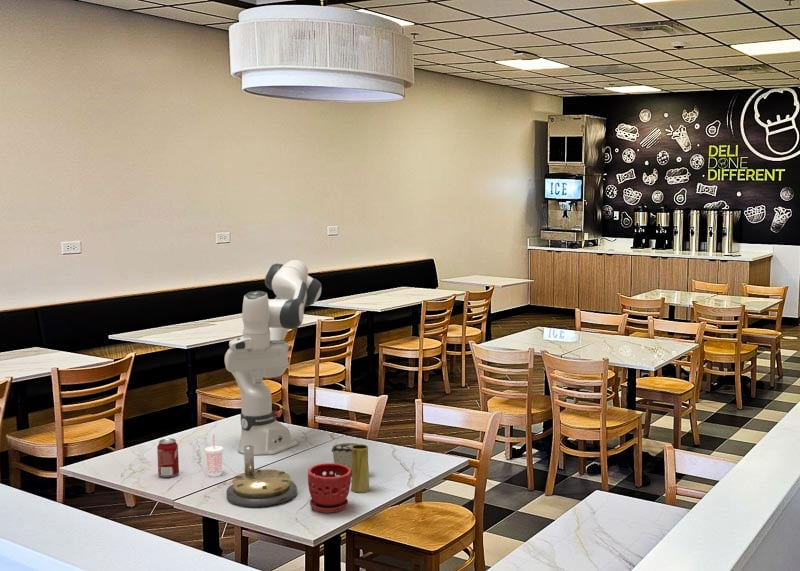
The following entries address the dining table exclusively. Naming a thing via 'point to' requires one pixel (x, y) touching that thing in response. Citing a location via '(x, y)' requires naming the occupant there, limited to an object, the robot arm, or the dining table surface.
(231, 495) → the grey round ring
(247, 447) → the tan disc with rod
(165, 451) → the soda can
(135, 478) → the dining table surface
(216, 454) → the beverage cup
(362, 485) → the vase
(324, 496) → the plant pot
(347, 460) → the food container
